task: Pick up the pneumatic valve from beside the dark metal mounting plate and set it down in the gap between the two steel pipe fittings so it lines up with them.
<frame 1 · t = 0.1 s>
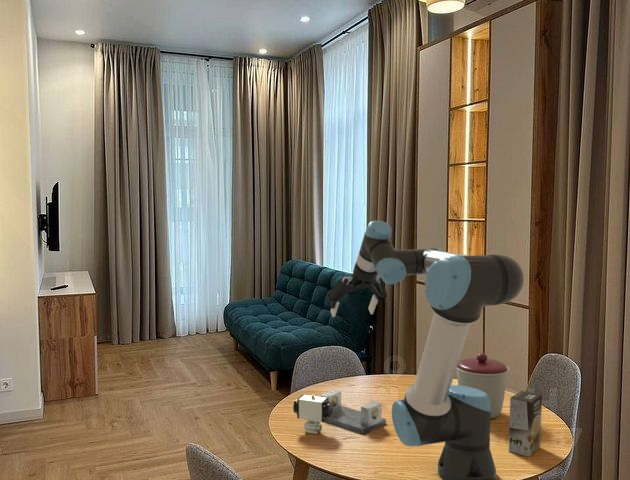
hand: (351, 312, 199), 36 cm above the table, tool tilted 35°, fingers open, 13 cm apart
canister: (480, 414, 205), on the table
coffee box: (524, 450, 177), on the table
pneumatic valve: (313, 432, 190), on the table
fittings plate: (350, 420, 199), on the table
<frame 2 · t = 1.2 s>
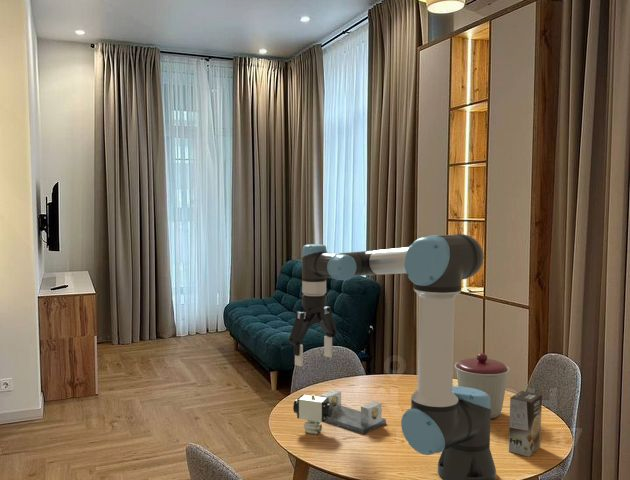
hand: (313, 361, 188), 23 cm above the table, tool pointing down, fingers open, 13 cm apart
nothing on the table moved.
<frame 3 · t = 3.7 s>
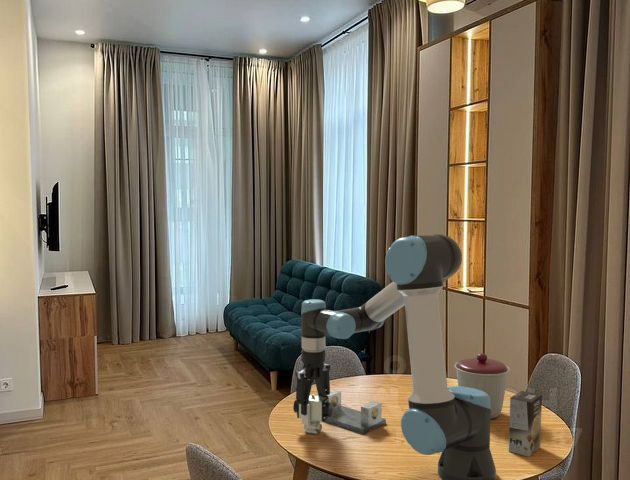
hand: (313, 421, 189), 3 cm above the table, tool pointing down, fingers closed on pneumatic valve, 6 cm apart
pneumatic valve: (313, 432, 190), on the table, touching gripper
everything else where it was.
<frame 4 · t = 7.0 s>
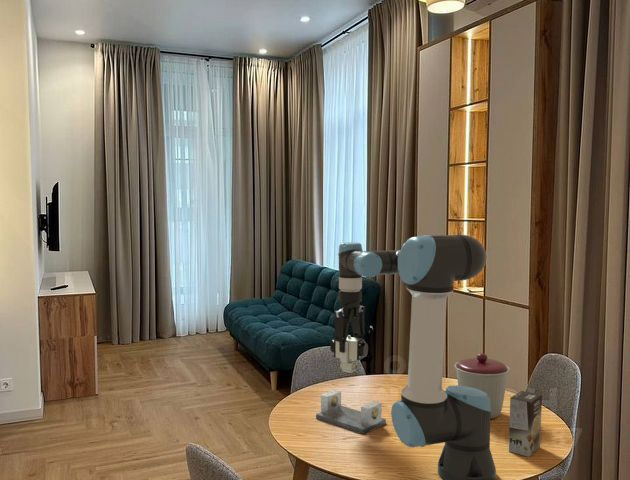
hand: (349, 359, 197), 21 cm above the table, tool pointing down, fingers closed on pneumatic valve, 6 cm apart
pneumatic valve: (349, 371, 197), point 17 cm above the table, touching gripper
everything else where it was.
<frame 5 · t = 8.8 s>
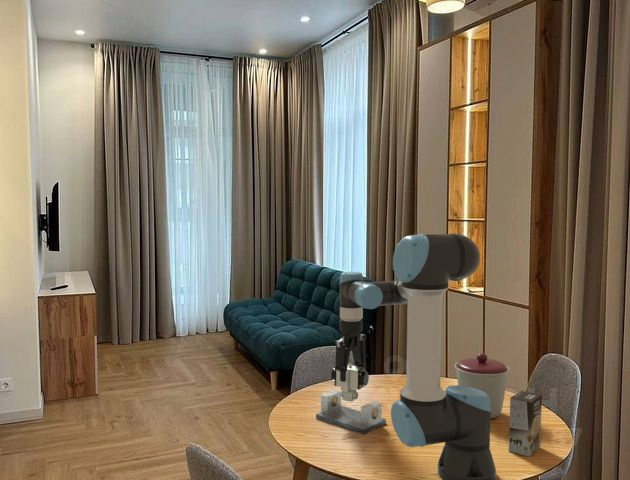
hand: (350, 388, 198), 11 cm above the table, tool pointing down, fingers closed on pneumatic valve, 6 cm apart
pneumatic valve: (350, 399, 198), point 7 cm above the table, touching gripper
everything else where it was.
when the fingers open (7 cm above the table, at t = 10.4 s): pneumatic valve drops 1 cm, resting on fittings plate.
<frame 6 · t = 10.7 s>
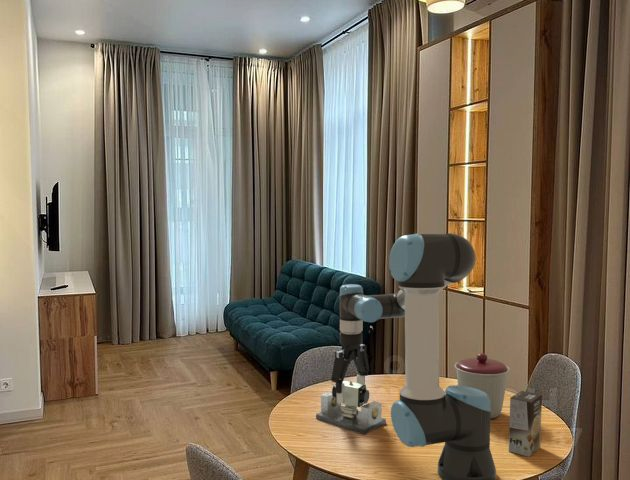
hand: (350, 398, 198), 8 cm above the table, tool pointing down, fingers open, 10 cm apart
pneumatic valve: (350, 416, 199), point 1 cm above the table, touching fittings plate
everything else where it was.
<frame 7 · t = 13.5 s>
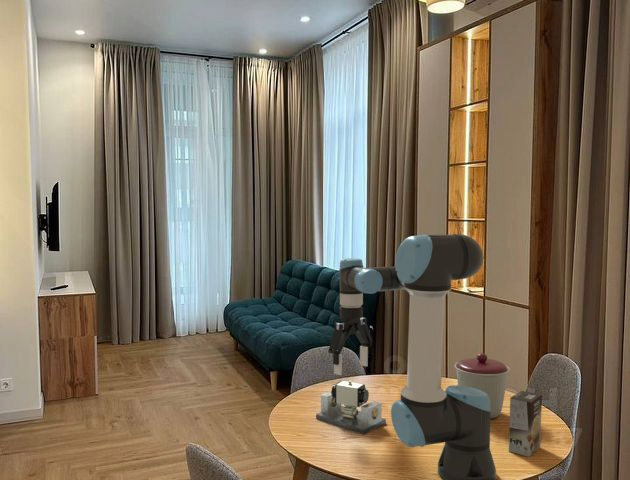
hand: (351, 369, 197), 17 cm above the table, tool pointing down, fingers open, 13 cm apart
nothing on the table moved.
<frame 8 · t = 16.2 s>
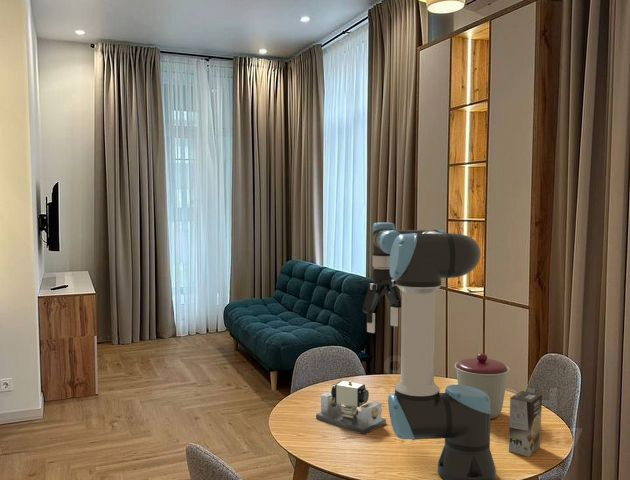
hand: (382, 329, 206), 29 cm above the table, tool pointing down, fingers open, 13 cm apart
nothing on the table moved.
at the end: pneumatic valve 0.2 cm off-centre on the fittings plate, point 1.3 cm above the fittings plate's base; pneumatic valve tilted 0°; the gripper is holding nothing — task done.
